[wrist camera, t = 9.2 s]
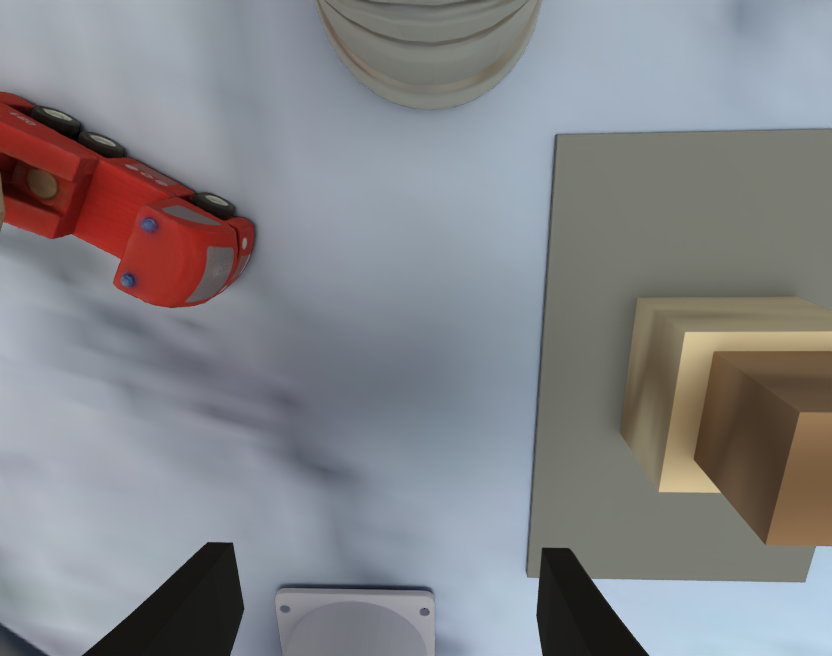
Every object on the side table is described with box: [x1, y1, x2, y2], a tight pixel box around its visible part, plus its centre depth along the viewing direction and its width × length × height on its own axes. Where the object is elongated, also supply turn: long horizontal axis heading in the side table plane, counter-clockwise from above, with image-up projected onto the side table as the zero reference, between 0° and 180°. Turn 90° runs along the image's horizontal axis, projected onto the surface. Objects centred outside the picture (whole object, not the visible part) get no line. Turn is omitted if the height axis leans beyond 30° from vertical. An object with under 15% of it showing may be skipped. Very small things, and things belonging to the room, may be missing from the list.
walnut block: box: [694, 351, 832, 546], centre depth 15 cm, size 4×4×4 cm
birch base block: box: [620, 297, 832, 493], centre depth 18 cm, size 6×6×4 cm
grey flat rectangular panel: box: [526, 129, 832, 582], centre depth 21 cm, size 20×13×1 cm, turn 1°
